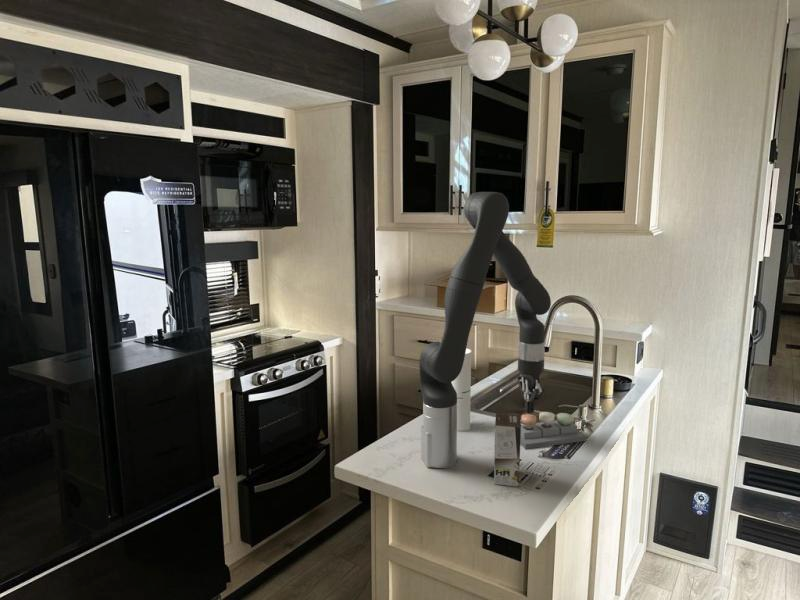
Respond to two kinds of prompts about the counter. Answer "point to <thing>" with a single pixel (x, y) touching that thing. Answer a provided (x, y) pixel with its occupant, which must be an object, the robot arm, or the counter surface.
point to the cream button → (546, 418)
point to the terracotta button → (528, 420)
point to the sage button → (564, 418)
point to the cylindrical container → (463, 393)
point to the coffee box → (507, 449)
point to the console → (550, 435)
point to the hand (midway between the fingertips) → (529, 411)
